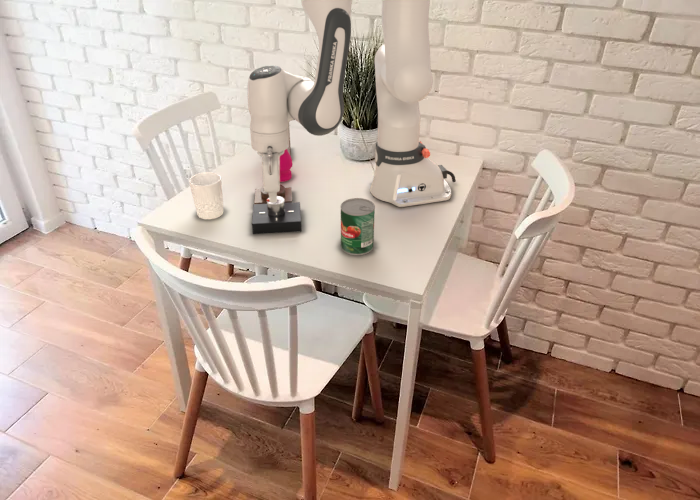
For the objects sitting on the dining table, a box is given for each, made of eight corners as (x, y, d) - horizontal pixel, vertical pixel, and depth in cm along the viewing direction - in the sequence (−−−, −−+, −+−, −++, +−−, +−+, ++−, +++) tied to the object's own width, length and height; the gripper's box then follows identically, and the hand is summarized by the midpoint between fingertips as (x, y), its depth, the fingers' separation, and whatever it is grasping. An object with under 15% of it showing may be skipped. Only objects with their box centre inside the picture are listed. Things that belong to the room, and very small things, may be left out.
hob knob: (285, 207, 143) (284, 194, 141) (285, 216, 140) (284, 202, 138) (267, 208, 143) (266, 195, 141) (267, 217, 139) (266, 203, 137)
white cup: (215, 223, 143) (210, 188, 137) (189, 217, 145) (182, 183, 140) (231, 209, 149) (226, 174, 143) (205, 203, 151) (200, 170, 146)
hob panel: (300, 211, 148) (299, 201, 146) (301, 231, 139) (301, 220, 138) (254, 214, 147) (253, 203, 145) (252, 234, 138) (251, 223, 137)
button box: (291, 192, 157) (291, 181, 155) (292, 206, 150) (291, 195, 148) (255, 194, 156) (254, 183, 154) (254, 208, 149) (253, 196, 147)
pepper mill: (289, 184, 161) (284, 117, 150) (265, 181, 162) (259, 115, 151) (296, 173, 167) (292, 108, 156) (273, 171, 168) (267, 106, 157)
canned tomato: (335, 250, 132) (334, 210, 126) (348, 234, 138) (348, 195, 132) (366, 258, 130) (367, 217, 124) (378, 241, 136) (380, 201, 130)
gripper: (284, 156, 122) (286, 212, 130) (283, 123, 139) (285, 173, 147) (254, 157, 121) (259, 213, 129) (257, 123, 138) (261, 174, 146)
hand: (273, 191), depth 138 cm, fingers open, 8 cm apart
